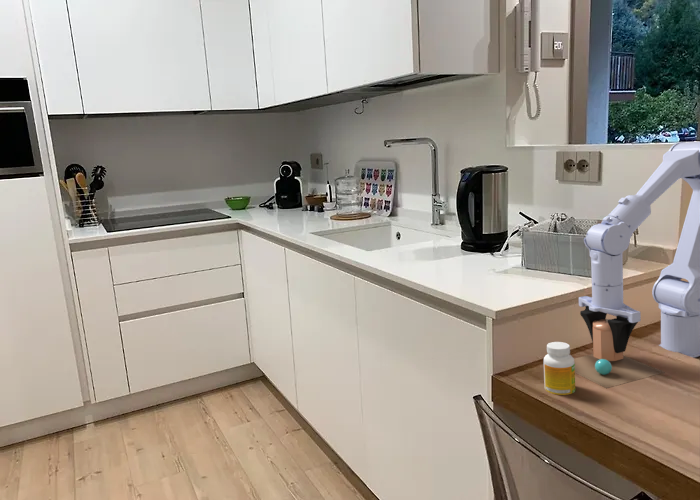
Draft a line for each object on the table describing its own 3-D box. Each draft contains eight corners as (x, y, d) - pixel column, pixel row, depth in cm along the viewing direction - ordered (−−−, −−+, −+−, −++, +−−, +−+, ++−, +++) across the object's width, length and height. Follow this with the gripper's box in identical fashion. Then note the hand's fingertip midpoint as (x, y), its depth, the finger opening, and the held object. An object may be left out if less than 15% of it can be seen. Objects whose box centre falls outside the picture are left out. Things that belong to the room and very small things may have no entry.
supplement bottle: (578, 401, 97) (576, 350, 95) (547, 401, 98) (545, 350, 97) (572, 388, 102) (570, 339, 101) (542, 388, 103) (540, 340, 102)
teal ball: (603, 369, 106) (603, 355, 105) (615, 375, 103) (615, 360, 103) (591, 373, 105) (591, 358, 105) (603, 378, 102) (602, 363, 102)
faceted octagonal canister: (608, 348, 114) (608, 317, 112) (629, 357, 108) (629, 324, 107) (587, 354, 112) (586, 322, 111) (607, 362, 107) (607, 329, 106)
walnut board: (609, 355, 116) (609, 349, 115) (665, 378, 102) (665, 372, 102) (555, 368, 112) (555, 363, 111) (606, 394, 98) (606, 388, 98)
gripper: (566, 279, 113) (568, 340, 116) (619, 293, 100) (620, 362, 102) (593, 274, 115) (594, 334, 118) (649, 287, 102) (649, 355, 104)
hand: (608, 347), depth 110 cm, fingers closed on faceted octagonal canister, 5 cm apart
